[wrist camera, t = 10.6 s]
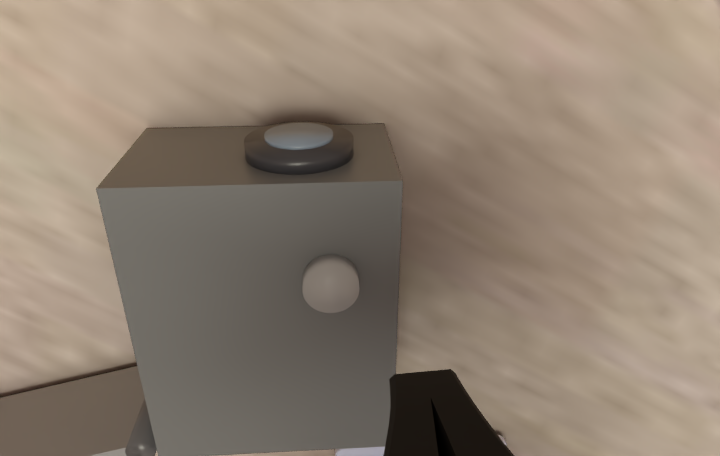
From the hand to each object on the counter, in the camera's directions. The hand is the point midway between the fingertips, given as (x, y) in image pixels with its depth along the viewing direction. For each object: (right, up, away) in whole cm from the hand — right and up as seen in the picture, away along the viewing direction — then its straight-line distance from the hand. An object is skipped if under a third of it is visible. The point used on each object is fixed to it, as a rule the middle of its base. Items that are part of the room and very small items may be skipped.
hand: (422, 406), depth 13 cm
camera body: (-4, +3, +9) cm, 11 cm away
